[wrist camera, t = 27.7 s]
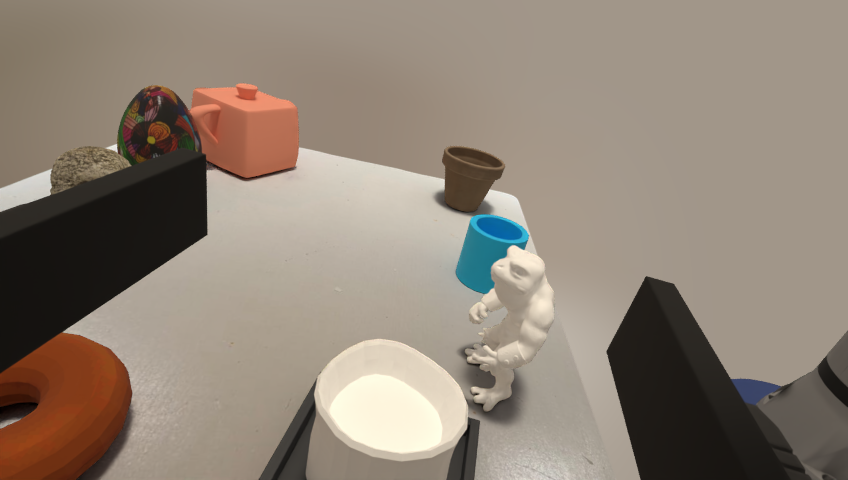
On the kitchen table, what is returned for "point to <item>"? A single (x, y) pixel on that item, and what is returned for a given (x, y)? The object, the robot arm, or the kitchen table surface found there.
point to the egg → (156, 126)
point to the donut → (63, 409)
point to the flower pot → (469, 176)
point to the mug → (487, 249)
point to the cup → (384, 416)
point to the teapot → (246, 129)
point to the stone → (84, 166)
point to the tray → (290, 458)
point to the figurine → (512, 321)
